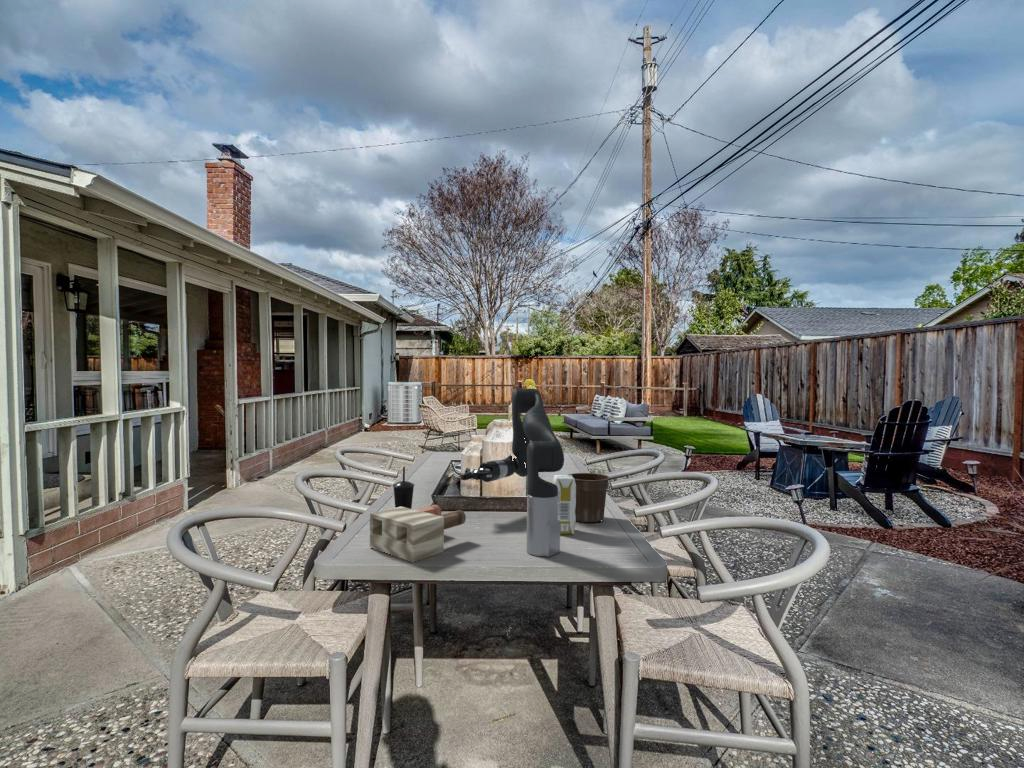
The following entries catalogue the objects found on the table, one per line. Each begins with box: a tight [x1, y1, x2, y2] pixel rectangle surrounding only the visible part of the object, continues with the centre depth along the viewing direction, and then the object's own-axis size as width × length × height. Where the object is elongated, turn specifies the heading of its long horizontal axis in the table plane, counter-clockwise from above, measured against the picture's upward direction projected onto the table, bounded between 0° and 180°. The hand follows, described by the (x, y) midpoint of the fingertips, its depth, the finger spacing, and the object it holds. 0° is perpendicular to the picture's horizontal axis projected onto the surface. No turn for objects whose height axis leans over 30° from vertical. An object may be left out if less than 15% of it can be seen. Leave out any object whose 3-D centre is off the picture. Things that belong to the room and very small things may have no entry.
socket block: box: [369, 507, 445, 563], centre depth 154 cm, size 20×12×10 cm, turn 52°
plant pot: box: [567, 472, 611, 523], centre depth 193 cm, size 16×16×16 cm
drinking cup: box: [392, 466, 416, 509], centre depth 184 cm, size 8×8×20 cm
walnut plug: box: [440, 509, 467, 531], centre depth 160 cm, size 5×16×5 cm, turn 142°
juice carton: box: [552, 474, 577, 535], centre depth 176 cm, size 8×9×19 cm
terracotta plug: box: [416, 504, 442, 516], centre depth 166 cm, size 5×16×5 cm, turn 142°
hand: (462, 477), depth 183 cm, fingers closed
